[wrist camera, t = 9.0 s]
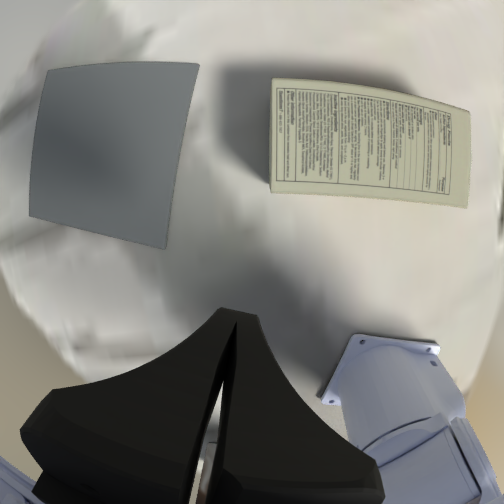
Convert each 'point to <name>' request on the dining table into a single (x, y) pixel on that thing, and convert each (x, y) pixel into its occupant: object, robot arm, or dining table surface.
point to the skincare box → (367, 143)
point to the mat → (111, 147)
